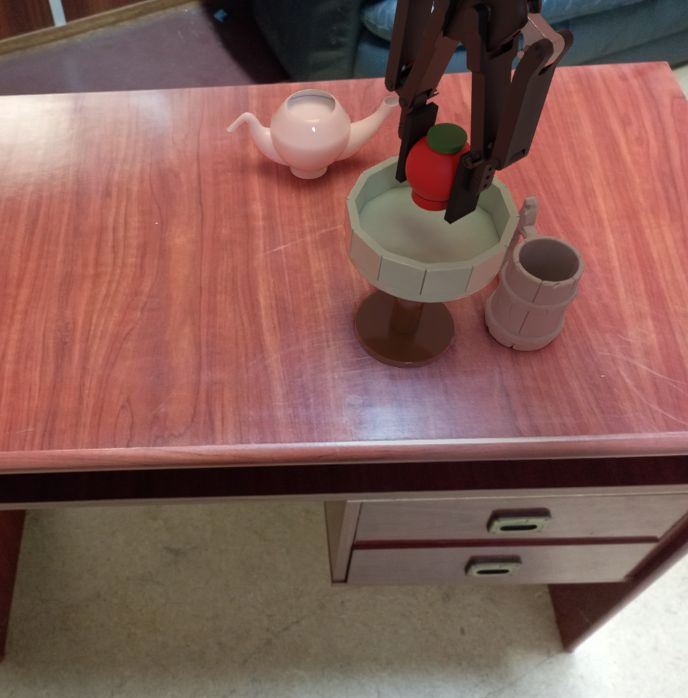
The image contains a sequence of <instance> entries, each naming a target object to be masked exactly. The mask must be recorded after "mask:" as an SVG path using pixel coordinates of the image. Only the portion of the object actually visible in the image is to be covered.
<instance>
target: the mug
mask: <svg viewBox="0 0 688 698" xmlns="http://www.w3.org/2000/svg"><path fill="white" fill-rule="evenodd" d="M538 210H539V199H538V197H537V195H531V196H527V197H525V198H524V200H523V203H522V205H521V207H520V209H518V210H517V211H518V213H519V216H520V217H519V218H520V219H519V222H518V224H517V227H516V230H515V232H514V235H513V238H512V240H511V243H510V246H509V248H508V251H507V253H506V256H505V258H504V261H503V264H502V266H501V268H500V271H499V272H498V273H499V282H498V284H497V287H496V289H494V290H493V291H492V293H491V294H490V295H489V297H488V298H487V299H486V302H485V306H484V315H485V316H484V320H485V326H487V328H488V333H489V334H490V335H491V336H492V337H493V338H494V339H495V340H496V341H497V342H498V343H499V344H501V345H503V346H505V347H507V348H510V347H512V350H516V351H521V352H528V351H529V352H531V351H532V352H533V351H537V350H540V349H543V348H545V347H546V346H548V345H549V344H550V343H551V342H552V341H554V340H555V339H556V338H557V337H558V336H559V335H560V334H561V332H562V330H563V329H564V328H565V325H566V322H565V321H566V311H567V309H568V308H569V307H570V306H571V305H572V304H573V302H574V301H575V299H576V298H577V297H578V295H579V290H580V285H579V283H580V280H581V279H582V277H583V274H584V272H585V266H586V265H585V261H584V258H583V255H582V253H581V251H579V249H578V248H577V247H576V246H574V245H573V244H572V243H570V242H569V241H567V240H565V239H562V238H560V237H555V236H553V235H546V234H541V235H540V234H539V231H538V229H537V228H536V220H537V215H538ZM521 237H522V238H523V240H521V241H520V239H521Z"/></svg>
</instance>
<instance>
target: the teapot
mask: <svg viewBox="0 0 688 698" xmlns="http://www.w3.org/2000/svg"><path fill="white" fill-rule="evenodd" d="M398 106H399V97H396V96H394V95H389V96H386V97H384V98H383V100H382V102H381V103H380V105H379V106H378V108H377V109H376V110H375V111H374V112H373V113H370V115H368V116H366V117H364V118H362V119H360V120H356V121H353V122H351V117H350V115H349V113H348V111H347V110H346V109H345V107H344V106H343V104H342V103H341V102H340V100H339V99H338V98H337V97H336V96H335V95H333V94H332V93H330V92H329V91H326V90H322V89H318V88H308V89H307V88H306V89H300V90H298V91H295V92H293V93H292V94H290V95H288V96H287V97H285V99H284V100H283V101H282V102H281V103H280V105H279V106H278V107H277V108H276V110H275V111H274V113H273V114H272V117H271V119H270V122H269V126H264V125H263V124H262V123H261V122H260V121H259V119H258V118H257V117H256V116H255V115H254V114H253V113H252V112H250V111H245V112H243V113H242V114H240V115H239V116H238V117H237V118H236V119H235V120H234V121H233V122H231V124H230V125H229V126H227V128H226V129H225V131H226V132H227V133H234V132H236V131H237V130H238V129H239V128H240V127H241V126H242V125H243V124H244V123H246V125H247V131H248V135H249V138H250V140H251V141H252V144H254V146H255V147H256V148H257V149H258V151H259V152H260V153H261V154H262V155H263V156H264V157H265V158H267V159H268V160H270V161H272V162H273V163H276V164H279V165H282V166H286V167H289V170H290V172H291V173H292V175H293V176H295V177H296V178H298V179H299V178H300V179H302V180H314V179H318V178H320V177H322V176H324V174H325V173H326V172H327V171H328V167H329V166H331V165H332V164H334V163H335V162H339V161H343V160H346V159H349V158H351V157H352V156H354V155H355V154H357V153H358V152H359V151H361V150H362V149H363V148H364V147H365V146H367V145H368V144H369V142H371V140H372V139H373V138H375V136H376V135H377V134H378V133H379V131H380V130H382V128H383V127H384V126H385V124H386V123H387V121H388V120H389V119H390V117H391V116H392V115H393V113H394V112H395V111H396V109H397V108H398Z"/></svg>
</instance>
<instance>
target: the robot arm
mask: <svg viewBox="0 0 688 698" xmlns="http://www.w3.org/2000/svg"><path fill="white" fill-rule="evenodd" d="M542 9H543V0H396V6H395V13H394V18H393V26H392V31H391V38H390V44H389V49H388V56H387V63H386V70H385V75H384V87H385V90H387V91H388V93H389V92H390V93H393V92H395V93H396V95H397V96H398V100H399V104H398V106H399V107H400V108H401V110H400V117H399V122H398V127H397V135H398V139H400V140H401V141H400V147H399V152H398V155H399V158H398V164H397V170H396V175H395V179H396V180H397V181H398V182H400V183H403V182H404V181H406V180H407V177H406V172H405V166H406V160H407V157H408V154H409V152H410V150H411V149H412V147H413V146H414V145H415V144H416V143H417V142H418V141H419V140H420V139H421V138H423V137H425V136H426V135H427V133H428V130H429V129H430V128H431V127H432V126H434V125H436V121H437V117H438V112H439V104H438V103H436V102H434V101H430V102H428V100H431V99H433V98H434V97H436V96H438V95H439V94H440V92H438V89H437V88H438V86H439V84H440V82H441V80H442V78H443V76H444V74H445V71H446V69H447V68H448V66H449V63H450V62H451V60H452V58H453V55H454V54H455V52H456V50H457V48H458V46H459V43H460V44H461V45H462V46H463V47H464V48H465V49H466V58H465V59H466V60H465V61H466V62H465V65H466V69H467V70H468V71H470V72H471V85H470V86H471V87H470V88H471V89H470V91H471V92H470V93H471V95H470V137H469V139H470V140H469V145H470V150H469V151H467V152H465V153H464V154H462V155H460V157H459V161H458V165H457V169H456V173H455V177H454V181H453V185H452V188H451V192H450V196H449V200H448V204H447V208H446V212H445V216H444V220H445V221H447V222H448V223H449V224H452V223H454V222H455V221H457V220H459V219H461V218H463V217H464V216H466V215H468V214H470V213H471V212H473V211H475V209H476V206H477V203H478V199H479V196H480V193H481V192H483V191H485V190H486V189H488V188H489V187H490V186H491V184H492V181H493V178H494V176H495V175H496V171H497V172H500V171H502V170H504V169H507V168H508V167H510V166H511V165H514V164H516V163H517V162H519V161H521V160H523V159H524V158H526V157H528V156H529V153H530V150H531V147H532V143H533V140H534V137H535V134H536V131H537V128H538V125H539V122H540V118H541V116H542V112H543V109H544V106H545V103H546V100H547V98H548V97H547V96H548V94H549V90H550V87H551V85H552V82H553V78H554V76H555V75H554V74H555V72H556V68H557V66H558V64H559V63H560V61H561V60H562V59H563V57H565V55H566V54H567V53H568V51H569V50H570V49H571V48H572V46H573V44H574V40H575V38H574V34H573V33H572V31H571V30H570V29H568V28H562V29H559V30H558V31H557V30H556V31H555V30H554V28H553V27H552V26H551V25H550V23H548V22H547V20H546V19H545V17H543V16H542V15H541V14H542ZM520 34H521V35H522V37H523V42H522V45H521V49H519V45H520ZM516 58H517V59H519V61H518V63H517V65H516V67H515V70H514V72H513V73H512V71H513V70H512V69H513V62H514V60H515V59H516ZM403 67H404V68H403ZM512 74H513V75H512Z"/></svg>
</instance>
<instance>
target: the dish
mask: <svg viewBox="0 0 688 698" xmlns="http://www.w3.org/2000/svg"><path fill="white" fill-rule="evenodd" d="M398 158H399V154H396V155H395V156H394V155H393V156H390V157H388V158H386V159H385V160H383V161H381V162H379V163H377V164H374V165H373V166H371V167H369V168H367V169H365V170H363V171H362V172H361V173H360V174H359V176H358V177H357V179H356V181H355V182H354V184H353V186H352V188H351V190H350V191H349V193H348V195H347V196H346V199H345V206H344V215H343V217H344V218H343V225H342V227H343V231H344V248H345V251H346V255H347V257H348V260H349V261H350V263H351V265H352V266H353V268H354V269H355V271H356V272H357V273H358V274H359V275H360V276H361V277H362V278H363V279H364V280H365V281H366V282H368V284H371V285H372V286H373V287H375V288H377V290H375V291H374V292H372V293H371V294H369V295H368V296H366V297H365V299H364V300H363V301H362V302H361V303H360V304H359V306H358V308H357V310H356V313H355V319H354V332H355V336H356V339H357V341H358V343H359V344H360V346H361V347H362V348H363V350H364V351H365V352H366V353H367V354H368V355H369V356H371V357H372V358H373V359H375V360H376V361H378V362H380V363H382V364H384V365H387V366H391V367H395V368H400V369H401V368H402V369H414V368H422V367H425V366H428V365H430V364H432V363H435V362H436V361H438V360H440V358H442V356H444V355H445V354H446V352H447V351H448V350H449V348H450V346H451V344H452V342H453V341H452V340H453V337H454V333H455V323H454V319H453V316H452V314H451V312H450V310H449V308H448V307H447V306H446V305H445V302H453V301H456V300H460V299H464V298H466V297H469V296H472V295H473V294H475V293H477V292H479V291H481V290H483V288H485V287H487V286H488V285H489V284H490V283H491V282H492V281H493V280H494V279H495V278H496V276H497V275H498V273H500V272H499V271H500V268H501V266H502V264H503V261H504V258H505V256H506V253H507V251H508V248H509V246H510V243H511V240H512V238H513V235H514V232H515V230H516V227H517V224H518V222H519V219H520V218H519V217H520V216H519V213H518V211H519V210H518V209H517V205H516V203H515V201H514V199H513V196H512V194H511V191H510V189H509V187H508V185H507V184H505V183H504V182H503V181H502V180H500V179H499V178H497V177H496V176H495V175H494V178H493V181H492V184H491V186H490V187H489V188H488V189H486V190H485V191H483V192H481V193H480V196H479V199H478V203H477V206H476V209H475V211H473V212H471V213H470V214H468V215H466V216H464V217H463V218H461V219H459V220H457V221H455V222H454V223H452V224H449V223H448V222H447V221H445V220H444V216H445V212H446V210H442V211H428V210H425V209H422V208H420V207H419V206H417V205H416V204H415V203H414V201H413V200H412V196H411V193H412V188H411V187H410V185H409V183H408V181H407V180H406V181H404V182H403V183H400V182H398V181H397V180H396V179H395V175H396V170H397V164H398Z"/></svg>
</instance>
